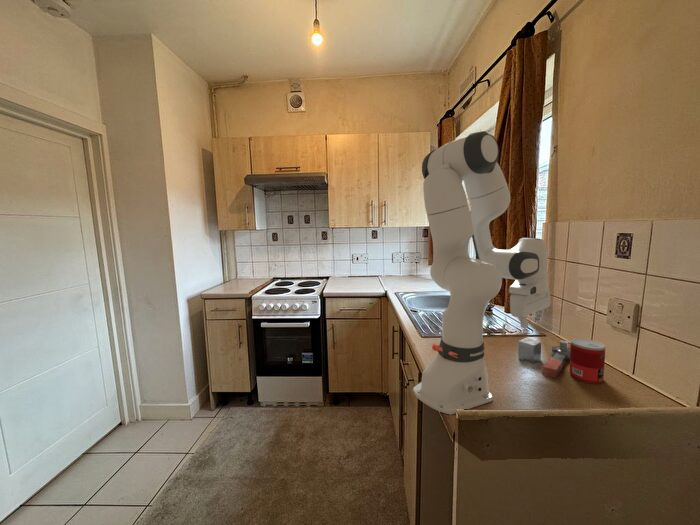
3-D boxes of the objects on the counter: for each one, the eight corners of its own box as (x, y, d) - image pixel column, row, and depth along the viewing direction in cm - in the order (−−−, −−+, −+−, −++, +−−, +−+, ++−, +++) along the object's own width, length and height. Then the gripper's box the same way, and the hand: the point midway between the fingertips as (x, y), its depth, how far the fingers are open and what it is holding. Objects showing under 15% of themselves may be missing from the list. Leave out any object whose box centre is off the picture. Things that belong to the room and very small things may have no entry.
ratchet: (562, 380, 85) (563, 363, 85) (535, 372, 91) (536, 356, 90) (578, 356, 100) (578, 341, 99) (554, 350, 105) (554, 336, 104)
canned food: (606, 386, 81) (608, 350, 80) (570, 380, 85) (572, 345, 84) (600, 374, 88) (602, 340, 86) (567, 369, 92) (569, 336, 90)
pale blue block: (533, 363, 96) (533, 345, 95) (518, 358, 100) (518, 340, 100) (540, 359, 99) (541, 341, 98) (525, 354, 103) (526, 337, 102)
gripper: (536, 279, 105) (536, 315, 106) (506, 288, 94) (506, 328, 96) (556, 281, 99) (555, 319, 101) (526, 291, 89) (525, 333, 90)
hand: (531, 324), depth 98 cm, fingers open, 8 cm apart
